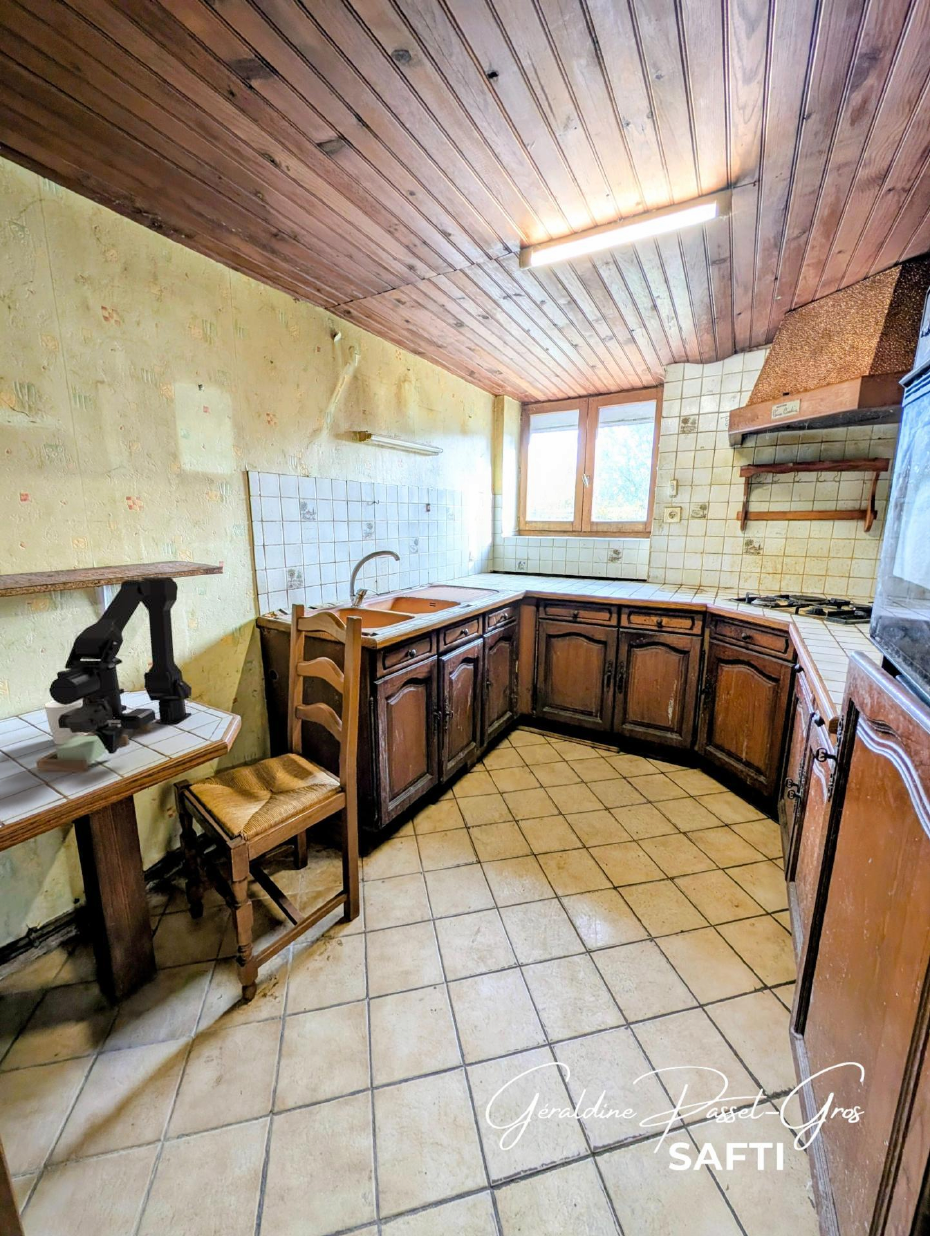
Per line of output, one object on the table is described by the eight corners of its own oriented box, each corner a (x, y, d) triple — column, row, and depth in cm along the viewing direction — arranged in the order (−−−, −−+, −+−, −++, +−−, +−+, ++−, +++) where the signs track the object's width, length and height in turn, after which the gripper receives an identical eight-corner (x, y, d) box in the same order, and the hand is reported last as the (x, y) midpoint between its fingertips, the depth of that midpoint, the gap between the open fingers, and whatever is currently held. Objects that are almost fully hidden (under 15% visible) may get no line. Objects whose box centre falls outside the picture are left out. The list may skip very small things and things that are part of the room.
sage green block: (78, 754, 112) (75, 736, 111) (105, 753, 112) (102, 735, 112) (59, 766, 106) (55, 748, 105) (87, 765, 107) (84, 747, 106)
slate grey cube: (118, 735, 122) (116, 720, 121) (133, 735, 122) (131, 720, 121) (106, 742, 118) (104, 727, 117) (122, 742, 118) (120, 727, 117)
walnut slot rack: (111, 730, 125) (109, 722, 124) (149, 731, 124) (148, 722, 124) (37, 771, 104) (36, 761, 103) (84, 771, 104) (82, 761, 103)
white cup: (86, 730, 125) (80, 693, 123) (95, 738, 120) (89, 700, 118) (47, 740, 119) (41, 702, 117) (55, 749, 114) (48, 709, 112)
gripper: (29, 700, 99) (41, 769, 102) (116, 701, 98) (126, 771, 101) (74, 683, 110) (84, 746, 113) (153, 684, 109) (161, 747, 112)
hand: (112, 753), depth 109 cm, fingers closed
